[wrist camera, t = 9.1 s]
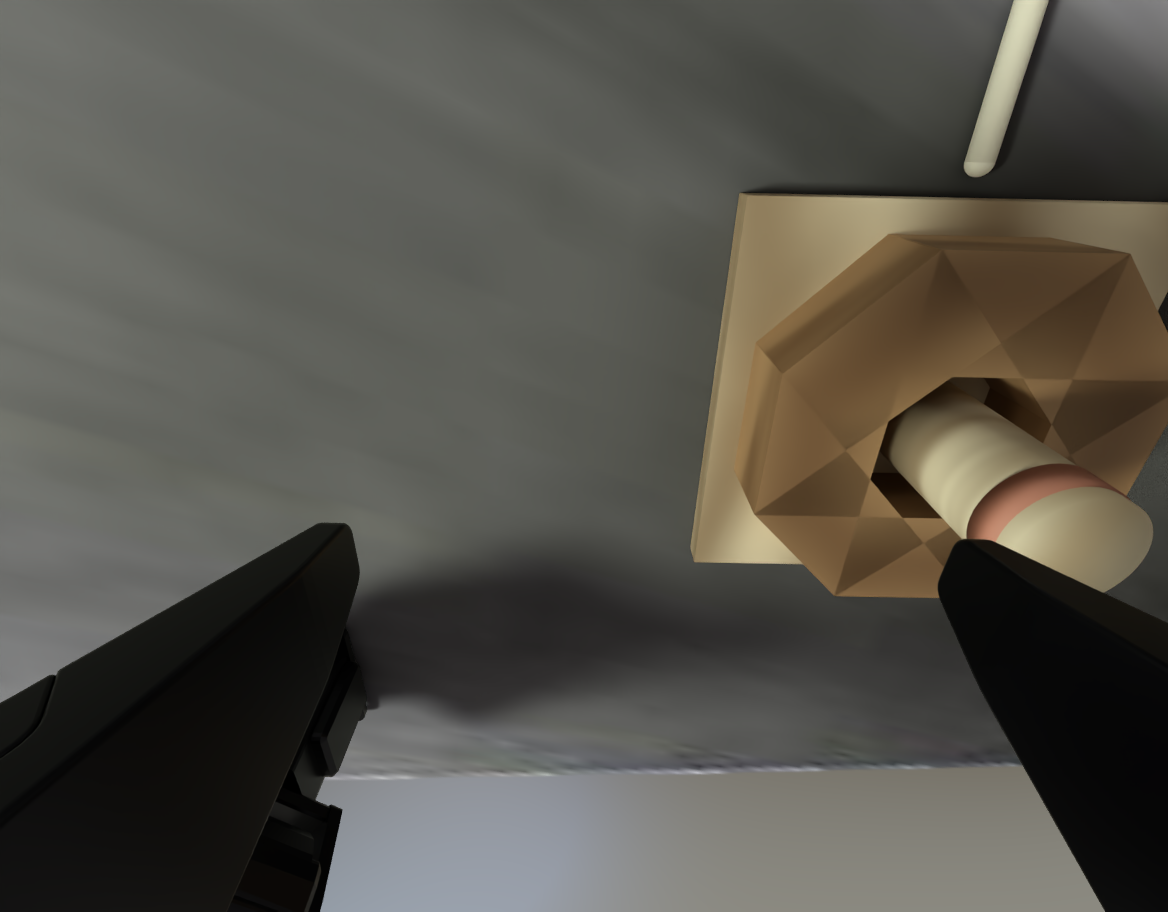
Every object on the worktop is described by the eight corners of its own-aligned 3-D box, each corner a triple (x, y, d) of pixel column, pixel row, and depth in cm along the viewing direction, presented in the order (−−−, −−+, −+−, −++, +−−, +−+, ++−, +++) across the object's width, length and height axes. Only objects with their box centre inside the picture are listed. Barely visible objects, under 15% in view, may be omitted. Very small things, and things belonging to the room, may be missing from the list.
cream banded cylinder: (852, 453, 21) (982, 606, 14) (875, 369, 20) (1035, 495, 13) (940, 454, 21) (1114, 609, 14) (971, 371, 20) (1184, 498, 13)
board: (690, 547, 25) (694, 562, 24) (739, 192, 18) (747, 195, 17) (1011, 553, 25) (1026, 568, 24) (1180, 202, 18) (1211, 205, 17)
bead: (721, 543, 23) (738, 594, 21) (774, 231, 17) (807, 246, 15) (1012, 549, 23) (1066, 600, 21) (1161, 239, 17) (1264, 256, 15)
